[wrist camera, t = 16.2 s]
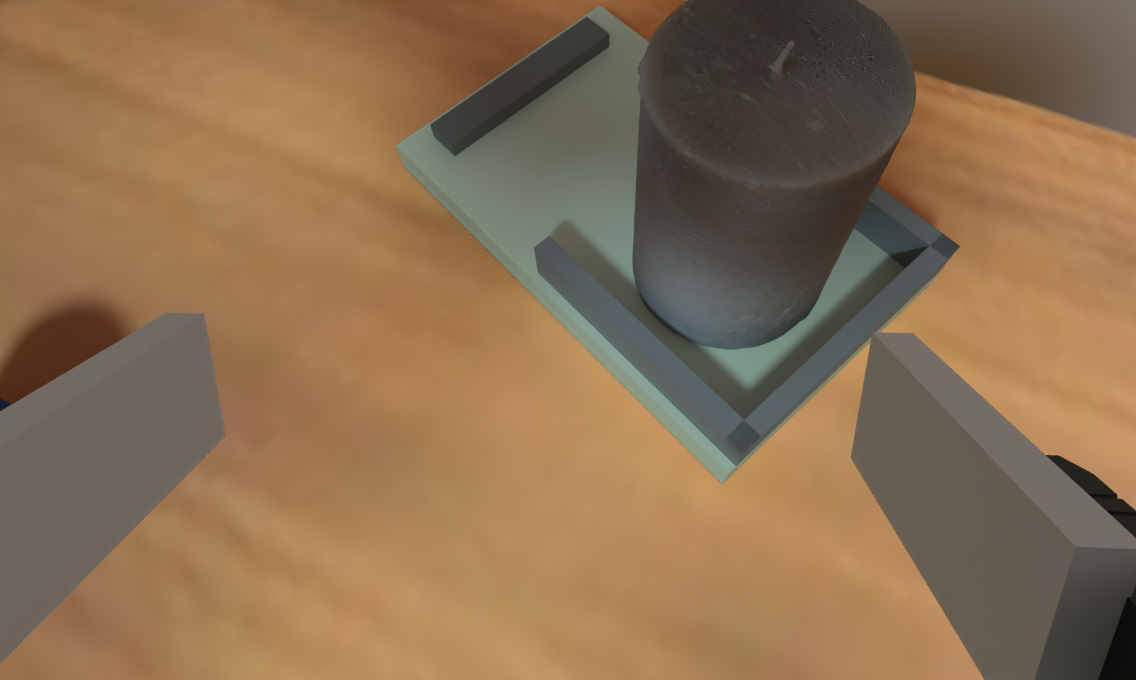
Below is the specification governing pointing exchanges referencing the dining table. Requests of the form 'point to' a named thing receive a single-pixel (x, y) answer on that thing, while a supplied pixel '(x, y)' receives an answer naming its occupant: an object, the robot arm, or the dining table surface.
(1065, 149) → the dining table surface
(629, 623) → the dining table surface
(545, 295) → the deck plate
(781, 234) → the pillar candle
